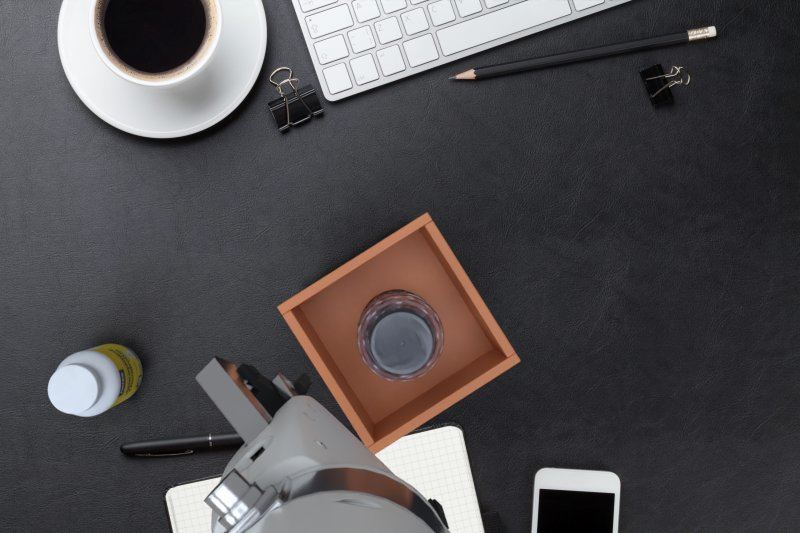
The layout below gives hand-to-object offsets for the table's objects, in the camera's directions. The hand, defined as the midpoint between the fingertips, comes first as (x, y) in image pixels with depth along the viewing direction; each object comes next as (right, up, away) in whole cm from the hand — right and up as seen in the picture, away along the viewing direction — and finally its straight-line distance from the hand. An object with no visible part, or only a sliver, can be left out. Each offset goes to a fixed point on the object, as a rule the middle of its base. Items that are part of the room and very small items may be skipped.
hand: (352, 458), depth 41 cm
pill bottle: (-29, -1, +42) cm, 51 cm away
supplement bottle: (+2, +6, +18) cm, 19 cm away
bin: (+2, +6, +19) cm, 20 cm away
